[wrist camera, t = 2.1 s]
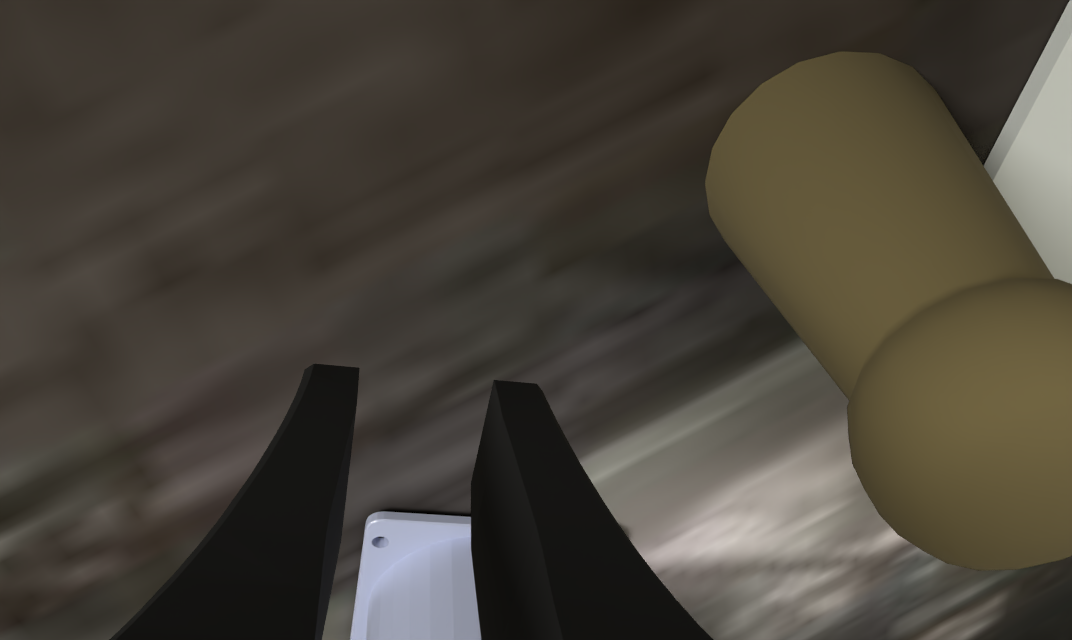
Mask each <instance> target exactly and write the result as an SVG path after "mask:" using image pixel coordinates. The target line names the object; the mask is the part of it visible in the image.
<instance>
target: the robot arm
mask: <svg viewBox="0 0 1072 640" xmlns="http://www.w3.org/2000/svg"><path fill="white" fill-rule="evenodd" d="M358 380H359V368H356V367H345V366H334V365H323V364H313V365H311V366H310V367H308V368H306V369H305V371H304V374H303V377H302V381H301V383H300V386H299V388H298V391H297V393H296V396H295V398H294V400H293V402H292V404H291V406H290V408H289V410H288V412H287V414H286V416H285V418H284V420H283V422H282V424H281V426H280V427H279V429H278V431H277V433H276V435H275V436H274V438H273V440H272V441H271V443H270V444H269V446H268V448H267V449H266V451H265V453H264V454H263V456H262V458H261V459H260V461H259V463H258V464H257V466H256V468H255V469H254V471H253V472H252V474H251V475H250V477H249V478H248V480H247V481H246V482H245V484H244V485H243V487H242V488H241V489H240V491H239V492H238V494H237V495H236V496H235V498H234V499H233V501H232V502H231V503H230V505H229V506H228V508H227V509H226V510H225V512H224V513H223V515H222V516H221V517H220V519H219V520H218V521H217V523H216V524H215V525H214V526H213V528H212V529H211V530H210V532H209V533H208V534H207V535H206V537H205V538H204V539H203V540H202V542H201V543H200V544H199V545H198V546H197V548H196V549H195V550H194V551H193V552H192V554H191V555H190V556H189V557H188V558H187V559H186V561H185V562H184V563H183V564H182V565H181V566H180V568H179V569H178V570H177V571H176V572H175V573H174V574H173V575H172V577H171V578H170V579H169V580H168V581H167V582H166V583H165V584H164V585H163V586H162V587H161V588H160V589H159V590H158V591H157V593H156V594H155V595H154V596H153V597H152V598H151V599H150V600H149V601H148V602H147V603H146V604H145V605H144V606H143V607H142V609H141V610H140V611H139V612H138V613H137V614H136V615H135V616H134V617H133V618H132V619H131V620H130V621H129V622H128V623H127V624H126V625H124V626H123V627H122V628H121V629H120V630H119V631H118V632H117V633H116V634H115V635H114V636H113V637H112V638H111V639H110V640H322V635H323V630H324V625H325V620H326V615H327V610H328V604H329V599H330V594H331V589H332V584H333V579H334V574H335V569H336V564H337V558H338V553H339V548H340V543H341V536H342V527H343V518H344V510H345V501H346V492H347V484H348V475H349V466H350V458H351V449H352V440H353V432H354V423H355V414H356V406H357V394H358ZM378 537H384V538H378ZM350 640H713V639H712V638H711V637H710V636H709V635H708V634H707V633H706V632H705V631H704V630H703V629H702V628H701V627H700V626H699V625H698V624H697V623H696V621H695V620H694V619H693V618H692V617H691V616H690V615H689V614H688V612H687V611H686V610H685V609H684V608H683V607H682V606H681V605H680V603H679V602H678V601H677V600H676V599H675V598H674V596H673V595H672V594H671V593H670V592H669V590H668V589H667V588H666V587H665V586H664V584H663V583H662V582H661V581H660V580H659V578H658V577H657V576H656V575H655V573H654V572H653V571H652V570H651V568H650V567H649V566H648V564H647V563H646V562H645V560H644V559H643V558H642V556H641V555H640V554H639V552H638V551H637V550H636V548H635V547H634V546H633V544H632V543H631V541H630V540H629V538H628V537H627V536H626V534H625V533H624V531H623V530H622V528H621V527H620V526H619V524H618V523H617V521H616V520H615V518H614V517H613V515H612V514H611V512H610V511H609V509H608V508H607V506H606V505H605V503H604V502H603V500H602V498H601V497H600V495H599V493H598V492H597V490H596V489H595V487H594V485H593V484H592V482H591V480H590V479H589V477H588V476H587V474H586V472H585V471H584V469H583V467H582V466H581V464H580V462H579V460H578V459H577V457H576V455H575V453H574V452H573V450H572V448H571V446H570V444H569V442H568V441H567V439H566V437H565V435H564V433H563V431H562V429H561V428H560V426H559V424H558V422H557V420H556V418H555V416H554V414H553V412H552V410H551V408H550V406H549V404H548V402H547V400H546V398H545V396H544V393H543V391H542V390H541V389H540V387H539V386H538V385H537V384H533V383H522V382H510V381H499V380H494V382H493V386H492V391H491V395H490V400H489V404H488V409H487V413H486V418H485V422H484V427H483V431H482V436H481V441H480V445H479V450H478V454H477V459H476V463H475V468H474V472H473V477H472V481H471V517H465V516H449V515H434V514H418V513H402V512H386V511H382V512H376V513H373V514H371V515H370V516H369V517H368V518H367V520H366V525H365V532H364V539H363V547H362V554H361V562H360V569H359V576H358V584H357V591H356V598H355V606H354V613H353V621H352V628H351V635H350Z"/></svg>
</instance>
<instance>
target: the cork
mask: <svg viewBox="0 0 1072 640" xmlns="http://www.w3.org/2000/svg"><path fill="white" fill-rule="evenodd" d="M705 187H706V194H707V200H708V207H709V214H710V217H711V218H712V220H713V222H714V223H715V225H716V227H717V229H718V230H719V232H720V234H721V235H722V237H723V239H724V240H725V242H726V243H727V245H728V246H729V247H730V248H731V250H732V251H733V252H734V253H735V255H736V256H737V257H738V259H739V260H740V261H741V262H742V264H743V265H744V266H745V268H746V269H747V270H748V271H749V273H750V274H751V275H752V277H753V278H754V279H755V280H756V282H757V283H758V284H759V286H760V287H761V288H762V289H763V291H764V292H765V293H766V295H767V296H768V297H769V298H770V300H771V301H772V302H773V303H774V305H775V306H776V307H777V309H778V310H779V311H780V312H781V314H782V315H783V316H784V318H785V319H786V320H787V321H788V323H789V324H790V325H791V327H792V328H793V329H794V330H795V332H796V333H797V334H798V336H799V337H800V338H801V339H802V341H803V342H804V343H805V345H806V346H807V347H808V348H809V350H810V351H811V352H812V353H813V355H814V356H815V357H816V359H817V360H818V361H819V362H820V364H821V365H822V366H823V368H824V369H825V370H826V371H827V373H828V374H829V375H830V377H831V378H832V379H833V380H834V382H835V383H836V384H837V386H838V387H839V388H840V389H841V391H842V392H843V393H844V395H845V396H846V397H847V398H848V400H849V404H848V407H847V414H848V434H849V443H850V450H851V457H852V464H853V466H854V468H855V470H856V472H857V475H858V477H859V479H860V481H861V483H862V485H863V487H864V489H865V491H866V493H867V494H868V496H869V498H870V499H871V501H872V503H873V504H874V506H875V508H876V510H877V511H878V513H879V514H880V516H881V517H882V518H883V519H884V520H885V521H886V522H887V523H888V524H889V525H890V526H891V527H892V529H893V530H894V531H895V532H896V533H897V534H898V535H899V536H901V537H903V538H904V539H906V540H907V541H909V542H910V543H912V544H913V545H915V546H917V547H918V548H920V549H921V550H923V551H924V552H926V553H928V554H930V555H932V556H934V557H936V558H938V559H940V560H942V561H944V562H946V563H948V564H952V565H957V566H961V567H965V568H970V569H974V570H1016V569H1021V568H1027V567H1031V566H1036V565H1040V564H1045V563H1049V562H1054V561H1058V560H1062V559H1064V558H1067V557H1069V556H1072V284H1070V283H1067V282H1065V281H1062V280H1059V279H1054V277H1053V275H1052V274H1051V272H1050V271H1049V269H1048V268H1047V266H1046V264H1045V263H1044V261H1043V260H1042V258H1041V256H1040V255H1039V253H1038V252H1037V250H1036V249H1035V247H1034V245H1033V244H1032V242H1031V241H1030V239H1029V237H1028V236H1027V234H1026V233H1025V231H1024V230H1023V228H1022V226H1021V225H1020V223H1019V222H1018V220H1017V218H1016V217H1015V215H1014V214H1013V212H1012V211H1011V209H1010V207H1009V206H1008V204H1007V203H1006V201H1005V199H1004V198H1003V196H1002V195H1001V193H1000V192H999V190H998V188H997V187H996V185H995V184H994V182H993V180H992V179H991V177H990V176H989V174H988V173H987V171H986V169H985V168H984V166H983V165H982V163H981V161H980V160H979V158H978V157H977V155H976V154H975V152H974V150H973V149H972V147H971V146H970V144H969V142H968V141H967V139H966V138H965V136H964V135H963V133H962V131H961V130H960V128H959V127H958V125H957V123H956V122H955V120H954V119H953V117H952V116H951V114H950V112H949V111H948V109H947V108H946V106H945V104H944V103H943V101H942V100H941V98H940V97H939V95H938V93H937V92H936V90H935V89H934V88H933V87H932V86H931V85H930V84H929V83H928V82H927V81H926V80H925V79H924V78H923V77H922V76H921V75H920V74H919V73H918V72H917V71H916V70H915V69H914V68H913V67H911V66H909V65H907V64H904V63H902V62H899V61H897V60H895V59H892V58H890V57H887V56H885V55H883V54H880V53H864V52H842V51H840V52H836V53H832V54H828V55H825V56H821V57H817V58H813V59H809V60H805V61H802V62H799V63H797V64H795V65H793V66H792V67H790V68H788V69H786V70H785V71H783V72H781V73H780V74H778V75H776V76H774V77H773V78H771V79H769V80H767V81H766V82H764V83H762V84H761V85H760V86H759V87H758V88H757V89H756V90H755V91H754V92H753V93H752V94H751V95H750V96H749V97H748V98H747V99H746V100H745V101H744V102H743V103H742V104H741V105H740V106H739V107H738V108H737V109H736V110H735V111H734V112H733V113H732V114H731V116H730V118H729V119H728V121H727V123H726V125H725V126H724V128H723V130H722V132H721V134H720V135H719V137H718V139H717V141H716V142H715V144H714V146H713V148H712V152H711V157H710V161H709V166H708V171H707V176H706V181H705Z"/></svg>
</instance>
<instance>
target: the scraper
mask: <svg viewBox="0 0 1072 640" xmlns="http://www.w3.org/2000/svg"><path fill="white" fill-rule="evenodd" d="M984 168H985V169H986V171H987V173H988V174H989V176H990V177H991V179H992V180H993V182H994V184H995V185H996V187H997V188H998V190H999V192H1000V193H1001V195H1002V196H1003V198H1004V199H1005V201H1006V203H1007V204H1008V206H1009V207H1010V209H1011V211H1012V212H1013V214H1014V215H1015V217H1016V218H1017V220H1018V222H1019V223H1020V225H1021V226H1022V228H1023V230H1024V231H1025V233H1026V234H1027V236H1028V237H1029V239H1030V241H1031V242H1032V244H1033V245H1034V247H1035V249H1036V250H1037V252H1038V253H1039V255H1040V256H1041V258H1042V260H1043V261H1044V263H1045V264H1046V266H1047V268H1048V269H1049V271H1050V272H1051V274H1052V275H1053V277H1054V279H1059V280H1062V281H1065V282H1067V283H1070V284H1072V0H1070V1H1069V3H1068V5H1067V7H1066V8H1065V10H1064V12H1063V14H1062V16H1061V18H1060V20H1059V22H1058V24H1057V26H1056V28H1055V30H1054V31H1053V33H1052V35H1051V37H1050V39H1049V41H1048V43H1047V45H1046V47H1045V49H1044V51H1043V53H1042V55H1041V56H1040V58H1039V60H1038V62H1037V64H1036V66H1035V68H1034V70H1033V72H1032V74H1031V76H1030V78H1029V79H1028V81H1027V83H1026V85H1025V87H1024V89H1023V91H1022V93H1021V95H1020V97H1019V99H1018V101H1017V103H1016V104H1015V106H1014V108H1013V110H1012V112H1011V114H1010V116H1009V118H1008V120H1007V122H1006V124H1005V126H1004V127H1003V129H1002V131H1001V133H1000V135H999V137H998V139H997V141H996V143H995V145H994V147H993V149H992V151H991V152H990V154H989V156H988V158H987V160H986V162H985V164H984Z"/></svg>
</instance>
